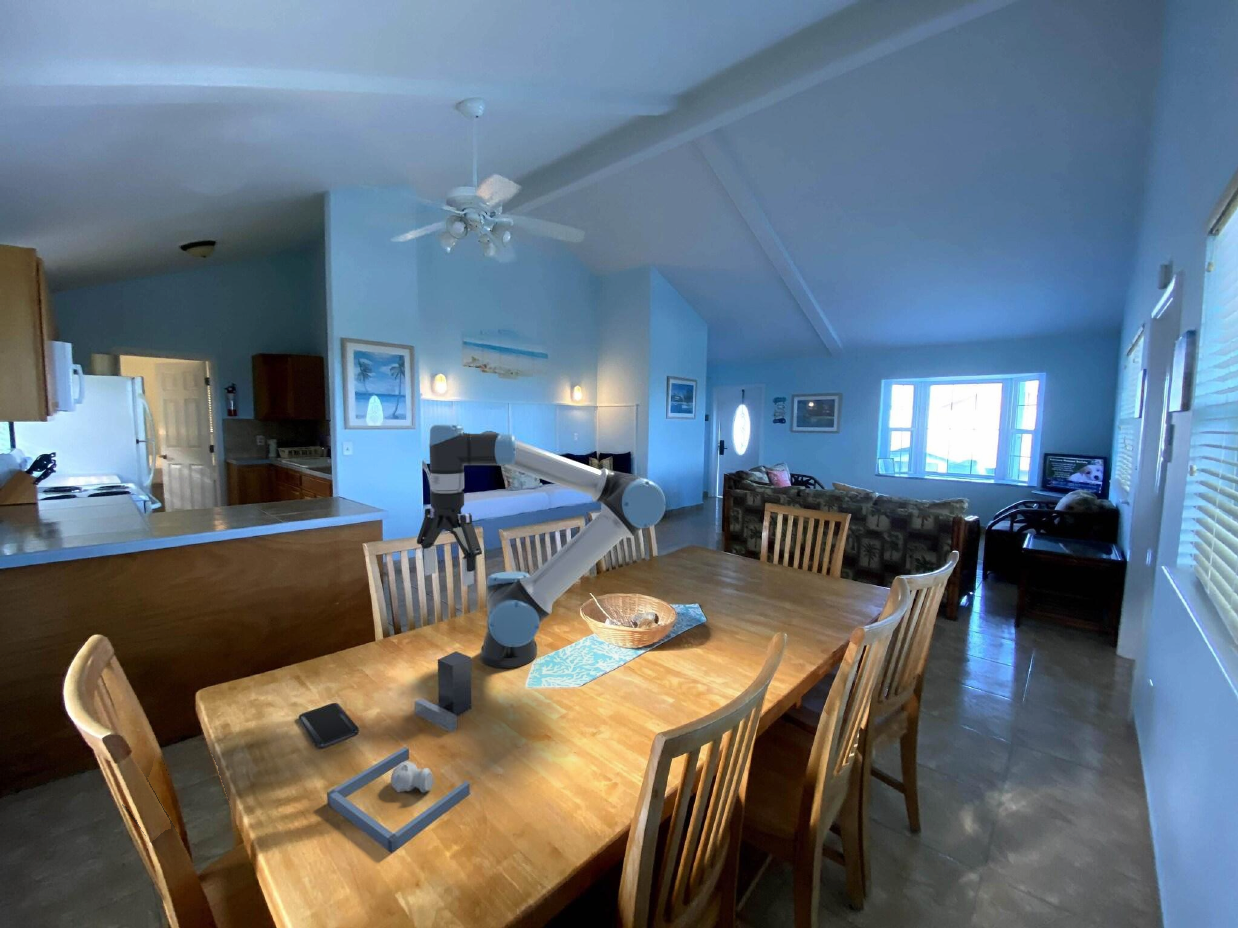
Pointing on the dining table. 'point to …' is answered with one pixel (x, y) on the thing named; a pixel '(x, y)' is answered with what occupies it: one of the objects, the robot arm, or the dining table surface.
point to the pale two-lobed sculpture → (411, 778)
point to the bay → (372, 826)
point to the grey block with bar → (449, 692)
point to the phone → (328, 725)
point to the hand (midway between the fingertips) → (448, 579)
